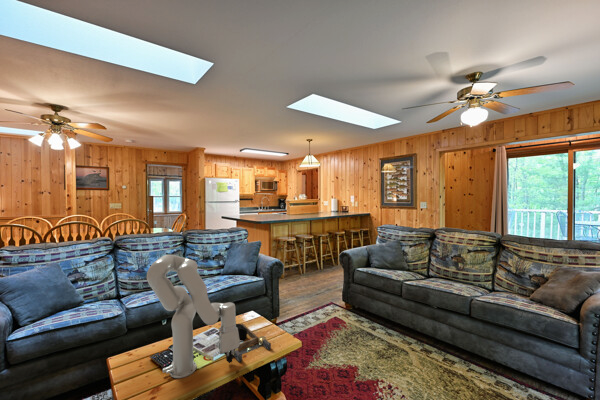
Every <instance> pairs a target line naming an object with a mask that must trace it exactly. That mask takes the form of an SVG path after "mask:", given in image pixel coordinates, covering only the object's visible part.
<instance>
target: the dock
mask: <svg viewBox="0 0 600 400" xmlns="http://www.w3.org/2000/svg"><path fill="white" fill-rule="evenodd" d="M240 324H241V325H242V326H243V327H245V328H246V329H248V331H247V336H249V337H250V339H248V340H245V341H241V342H240V345H239V347H238V351H241V350H243V349H246V348H248V347H251V346H253V345H256V344H259V336H258V335H256V334H255V333H254V332H253V331H252V330H251V329H250V328H249V327H247V326H246V325H245V324H244V323H240ZM218 331H219V330H218ZM218 333H219V335H220V331H219V332H218Z"/></svg>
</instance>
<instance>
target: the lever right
mask: <svg viewBox="0 0 600 400" xmlns="http://www.w3.org/2000/svg"><path fill="white" fill-rule="evenodd" d="M258 338H259V342H258V344H259V345H263V346H262V347H264V348H265V349H267V351H271V350H272V344H271V342H270V341H268V340H267V337H266V336H264V335H261V336H258Z"/></svg>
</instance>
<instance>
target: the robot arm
mask: <svg viewBox="0 0 600 400" xmlns="http://www.w3.org/2000/svg"><path fill="white" fill-rule="evenodd" d="M198 268H199V265H198V263H197V262H196V261H195V260H193V259H190V258H186V257H183V256H178V255H175V254H164V255H162V256H161V257H159V258H158V259H156V260H155V261H154V262H153V263H152V264H151V265H150V267H149V268H148V270H147V272H146V281H147V283H148V285H149V287H150V288H151V289H152V291H153V292H154V294H155V296H156V297H157V299H158V300H159V302H160V303H161V305H162V307H163V308H164V309H165V310H166V311H167V312H173V311H175V313H174V314H173V316H172V319H171V324H170V325H171V330H172V362H171V364H170V365H169V366H166V367H163V368H162V373H163V374H164V373H166V374H169V375H170V377H172V378H174V379H182V378H186V377H189V376H190V375H192V374H194V372H195V371H196V370H197V362H196V361H194V329H193V321H194V318H195V317H196V313H197V314H198V316H199V317H200V319H201V320H202V321H203V324H205V325H207V326H215V324H217V323H218V322H219V320H220V326H219V328H218V331H220V335H219V337H218V349H219V351H218V354H219V355H225V356H226V357H225V360H226V362H227V363H229V364H231V363H233V359H234V358H233V353H234V351H235V349H237V348H238V347H239V345H240V343H241V341H240V340H239V333H238V328H237V327H236V324H237V323H236V321H237V318H236V305H235V303H234V302H230V301H229V302H211V301H210V299H209V296H208V289H207V284H206V283H205V280H203V279H202V277H201V275H200V274H199V273H198ZM171 271H172V272H176V274H177V277H178V279H179V280H180V281H181V283H182V285H183V286H184V287H185V288H184V287H183V286H180V285H173V282H172V281H171V280H170V279H169V278H168V277H167V274H169V272H171Z"/></svg>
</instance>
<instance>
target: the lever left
mask: <svg viewBox="0 0 600 400" xmlns="http://www.w3.org/2000/svg"><path fill="white" fill-rule="evenodd" d="M239 351H240V350H238V348H237V349H235V351H234V353H233V356H234V358H235V359H236V360H237V361H238V363H242V362H243V354H240V352H239Z"/></svg>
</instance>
